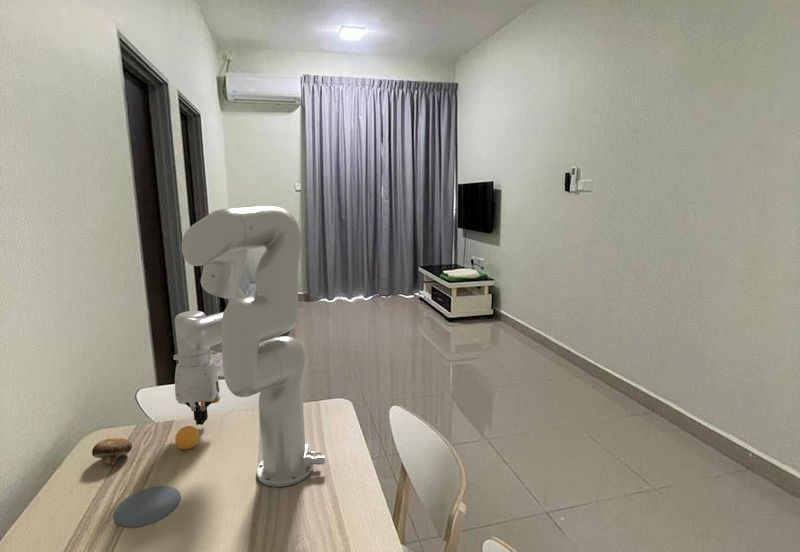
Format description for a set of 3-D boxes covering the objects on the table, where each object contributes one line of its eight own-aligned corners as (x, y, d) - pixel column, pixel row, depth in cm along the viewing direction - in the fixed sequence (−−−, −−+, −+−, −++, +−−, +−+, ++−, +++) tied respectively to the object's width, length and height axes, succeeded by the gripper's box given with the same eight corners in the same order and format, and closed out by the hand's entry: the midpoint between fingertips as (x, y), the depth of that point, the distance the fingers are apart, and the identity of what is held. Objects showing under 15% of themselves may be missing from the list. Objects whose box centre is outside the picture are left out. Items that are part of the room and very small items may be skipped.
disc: (189, 485, 100) (189, 484, 100) (165, 525, 88) (165, 524, 88) (133, 487, 99) (133, 487, 99) (101, 528, 87) (100, 527, 87)
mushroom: (108, 463, 103) (108, 434, 105) (82, 471, 105) (84, 443, 107) (139, 461, 110) (139, 434, 112) (114, 468, 112) (115, 442, 114)
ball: (203, 441, 117) (201, 421, 116) (195, 453, 112) (193, 433, 111) (181, 441, 117) (179, 422, 116) (172, 454, 111) (170, 433, 110)
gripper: (158, 364, 115) (167, 430, 119) (219, 363, 116) (225, 428, 120) (171, 353, 123) (178, 416, 126) (228, 352, 123) (233, 414, 127)
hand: (201, 422), depth 123 cm, fingers closed
